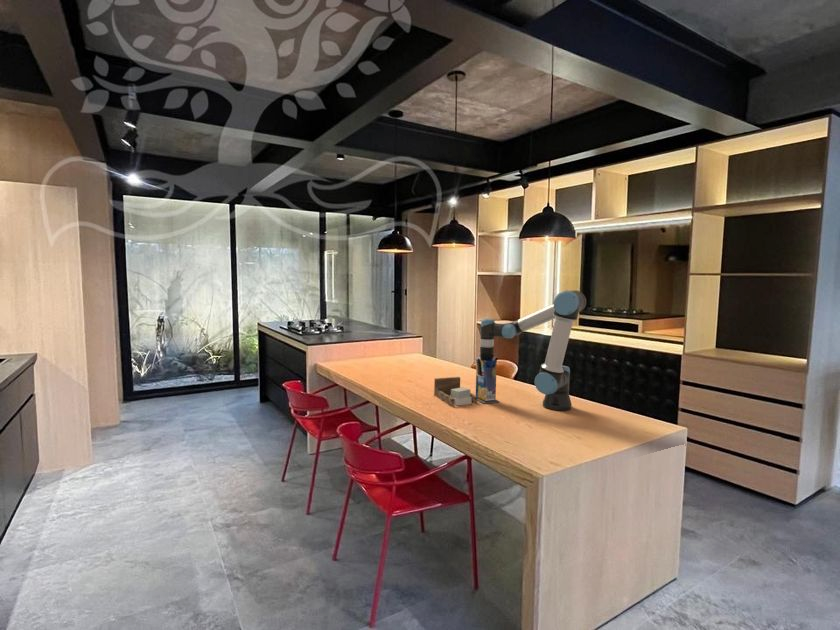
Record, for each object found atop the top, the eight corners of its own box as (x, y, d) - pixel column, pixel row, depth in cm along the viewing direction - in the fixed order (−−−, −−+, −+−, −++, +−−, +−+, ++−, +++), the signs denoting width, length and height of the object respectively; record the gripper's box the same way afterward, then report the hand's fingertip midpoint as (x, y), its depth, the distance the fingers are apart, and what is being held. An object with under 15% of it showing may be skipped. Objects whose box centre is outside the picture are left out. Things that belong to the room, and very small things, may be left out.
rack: (477, 403, 252) (477, 386, 251) (451, 406, 246) (451, 388, 245) (458, 393, 274) (459, 376, 273) (434, 395, 268) (434, 378, 267)
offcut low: (471, 404, 252) (471, 397, 251) (455, 406, 248) (455, 398, 248) (465, 401, 258) (465, 394, 258) (449, 402, 254) (449, 395, 254)
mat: (499, 402, 255) (499, 401, 255) (483, 404, 252) (483, 402, 251) (486, 396, 268) (486, 395, 268) (471, 397, 264) (471, 396, 264)
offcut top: (470, 396, 253) (470, 389, 253) (458, 398, 248) (458, 391, 247) (462, 394, 258) (462, 387, 257) (450, 396, 252) (450, 389, 252)
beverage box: (485, 395, 266) (487, 357, 264) (495, 399, 256) (496, 361, 254) (475, 395, 264) (476, 358, 262) (484, 400, 253) (486, 361, 251)
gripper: (495, 344, 263) (493, 384, 265) (472, 345, 258) (471, 386, 260) (501, 346, 256) (500, 387, 258) (478, 347, 251) (477, 389, 253)
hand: (485, 387), depth 259 cm, fingers closed on beverage box, 2 cm apart
